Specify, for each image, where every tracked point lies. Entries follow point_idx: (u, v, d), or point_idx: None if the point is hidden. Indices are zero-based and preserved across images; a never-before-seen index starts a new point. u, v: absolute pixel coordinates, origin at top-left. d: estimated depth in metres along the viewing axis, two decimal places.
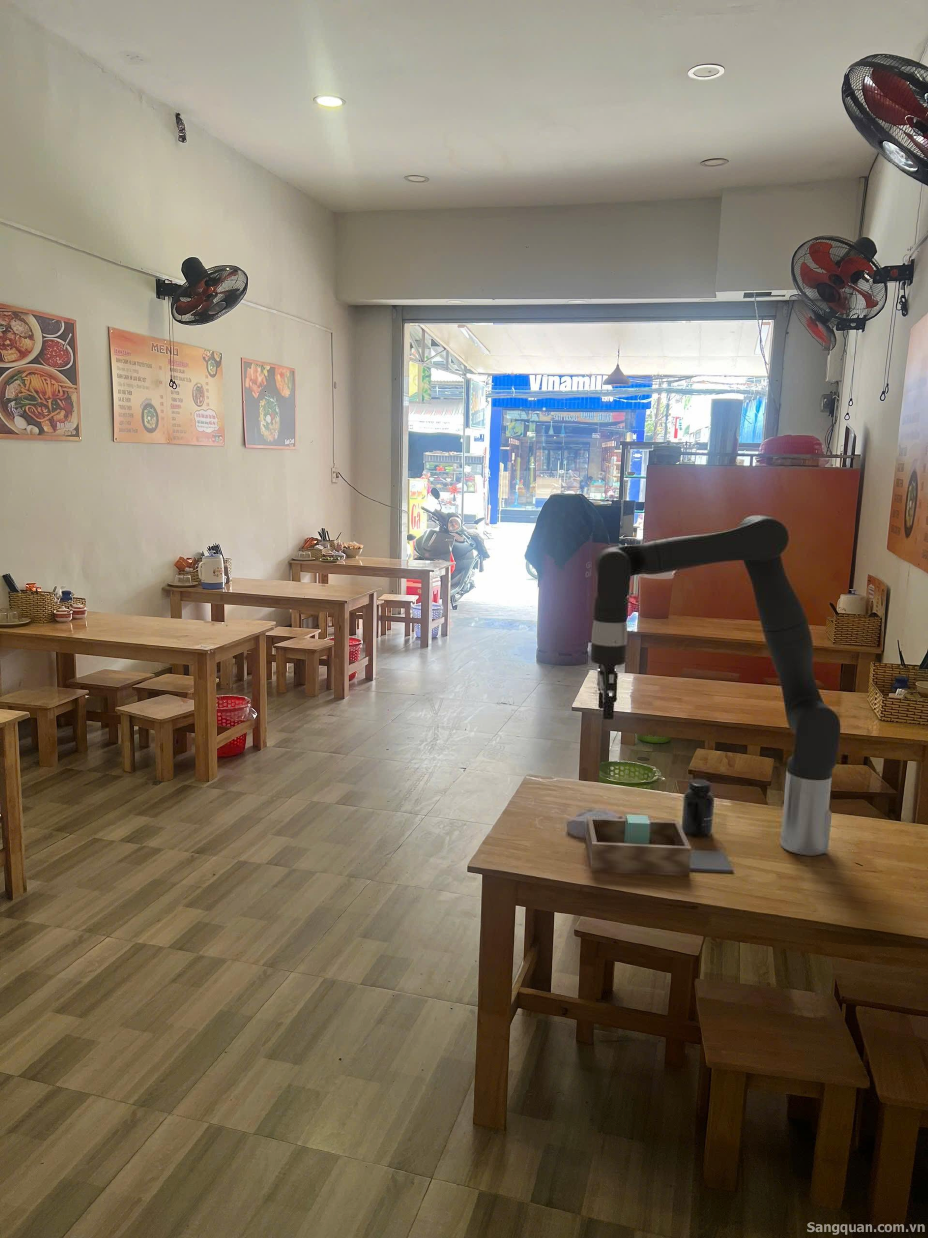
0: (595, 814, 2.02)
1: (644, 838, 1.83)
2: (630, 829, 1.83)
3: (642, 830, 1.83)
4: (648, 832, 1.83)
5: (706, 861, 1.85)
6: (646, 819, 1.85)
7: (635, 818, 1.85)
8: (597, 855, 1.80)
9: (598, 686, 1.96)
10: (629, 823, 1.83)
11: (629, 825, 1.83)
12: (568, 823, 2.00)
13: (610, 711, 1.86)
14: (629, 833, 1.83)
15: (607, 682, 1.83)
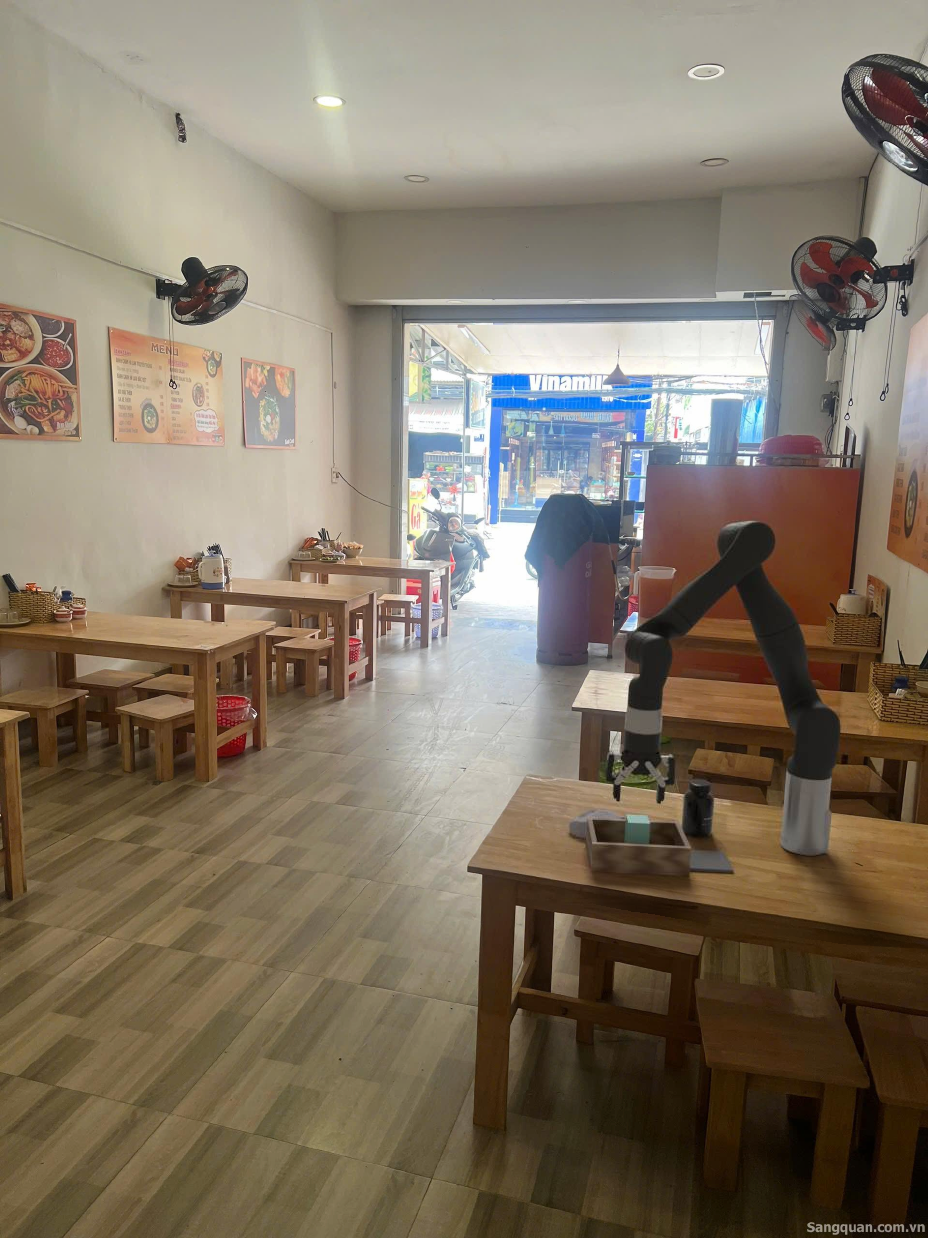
0: (598, 815, 2.02)
1: (644, 838, 1.83)
2: (630, 829, 1.83)
3: (642, 830, 1.83)
4: (648, 832, 1.83)
5: (706, 861, 1.85)
6: (646, 819, 1.85)
7: (635, 818, 1.85)
8: (597, 855, 1.80)
9: (615, 780, 1.83)
10: (629, 823, 1.83)
11: (629, 825, 1.83)
12: (571, 824, 1.99)
13: None
14: (629, 833, 1.83)
15: (674, 765, 1.82)
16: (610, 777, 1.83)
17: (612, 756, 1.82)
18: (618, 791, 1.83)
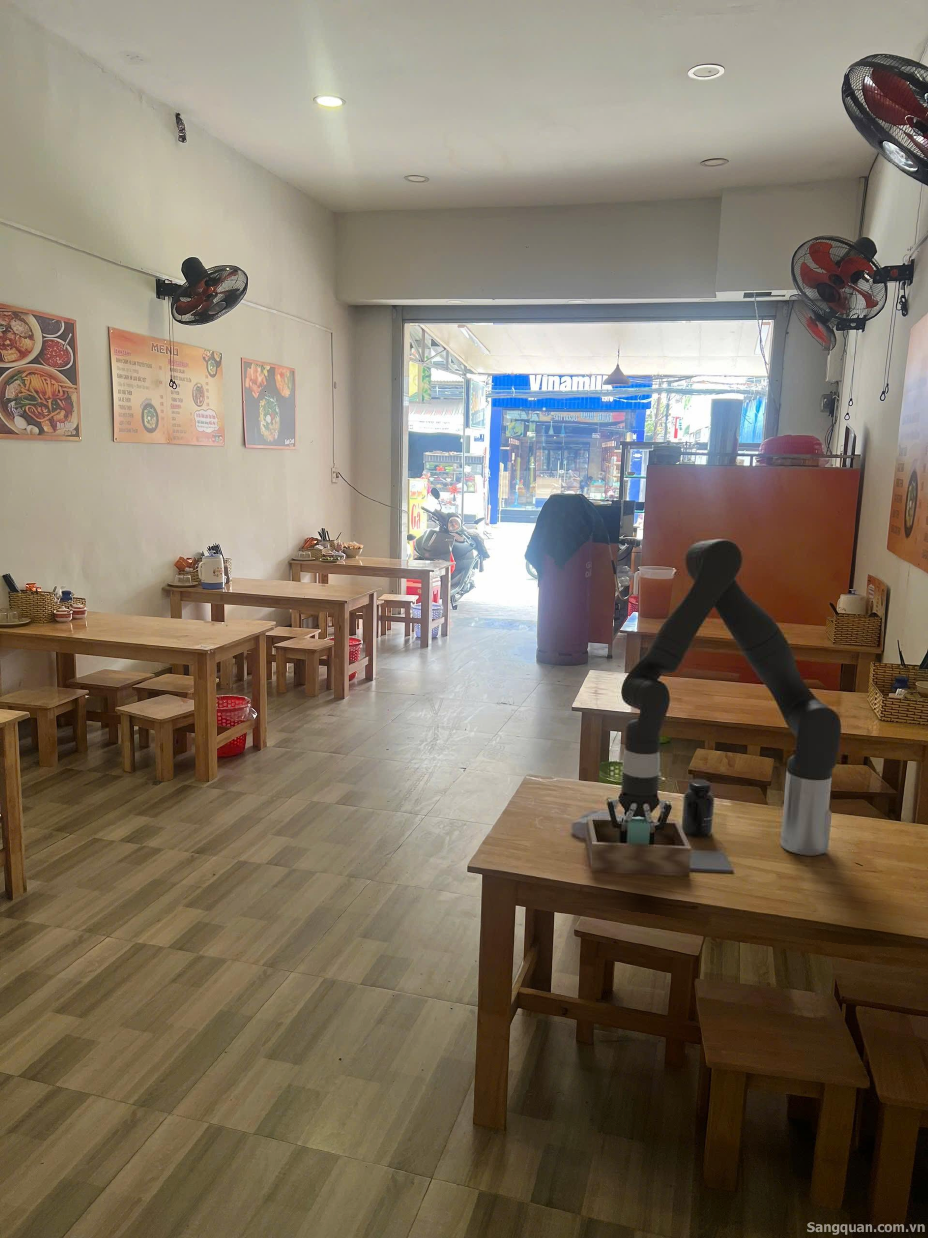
0: (600, 816, 2.01)
1: (644, 838, 1.83)
2: (630, 829, 1.83)
3: (642, 830, 1.83)
4: (648, 832, 1.83)
5: (706, 861, 1.85)
6: None
7: (635, 818, 1.85)
8: (597, 855, 1.80)
9: (621, 827, 1.84)
10: (629, 823, 1.83)
11: (629, 825, 1.83)
12: (573, 825, 1.99)
13: None
14: (629, 833, 1.83)
15: None
16: (617, 824, 1.84)
17: (610, 803, 1.84)
18: (625, 837, 1.85)
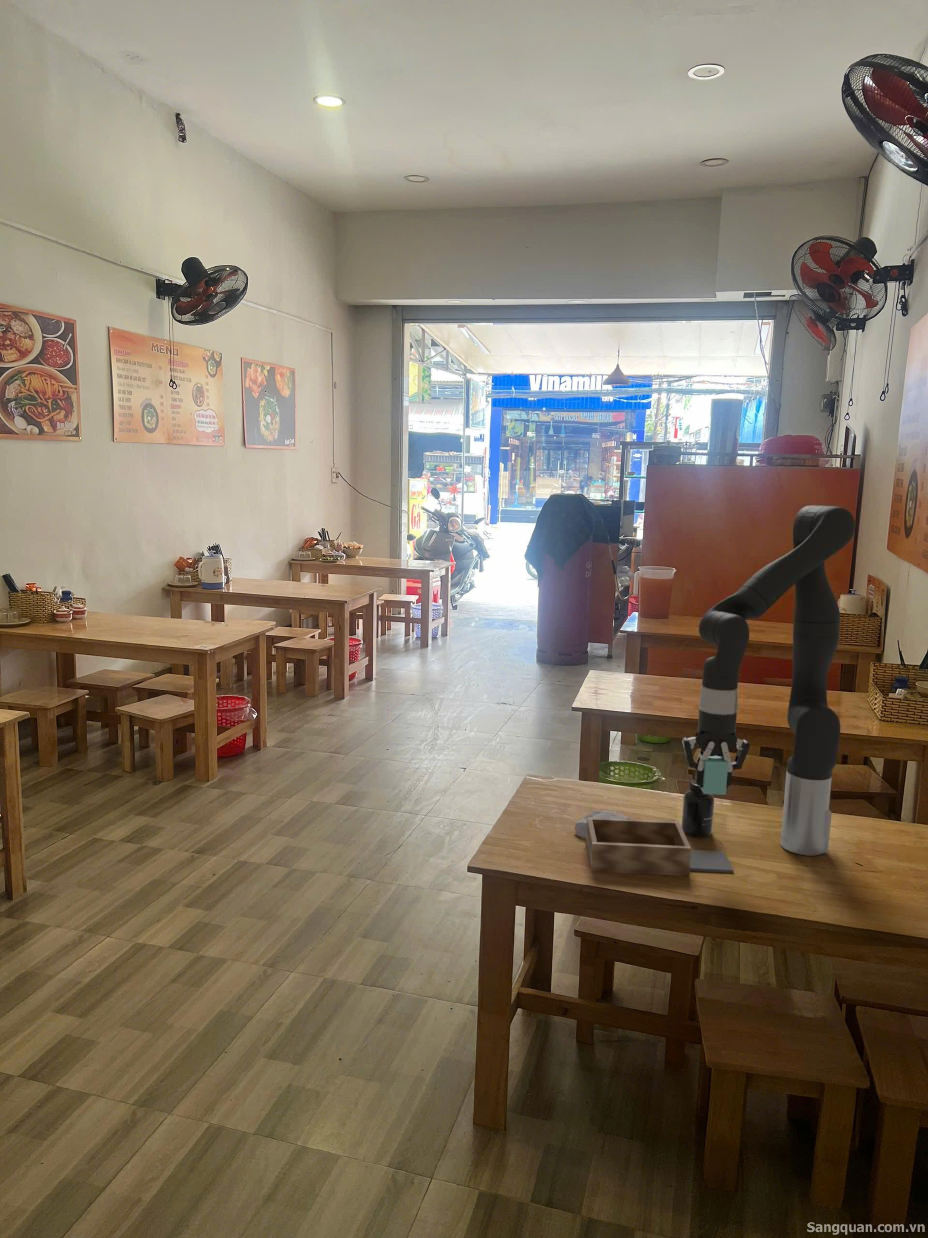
0: (603, 816, 2.01)
1: (721, 777, 1.80)
2: (707, 768, 1.80)
3: (720, 769, 1.80)
4: (726, 771, 1.80)
5: (706, 861, 1.85)
6: None
7: (712, 757, 1.82)
8: (597, 855, 1.80)
9: (698, 767, 1.81)
10: (706, 762, 1.80)
11: (706, 764, 1.80)
12: (576, 825, 1.99)
13: None
14: (706, 772, 1.80)
15: None
16: (693, 763, 1.81)
17: (687, 742, 1.80)
18: (701, 777, 1.82)
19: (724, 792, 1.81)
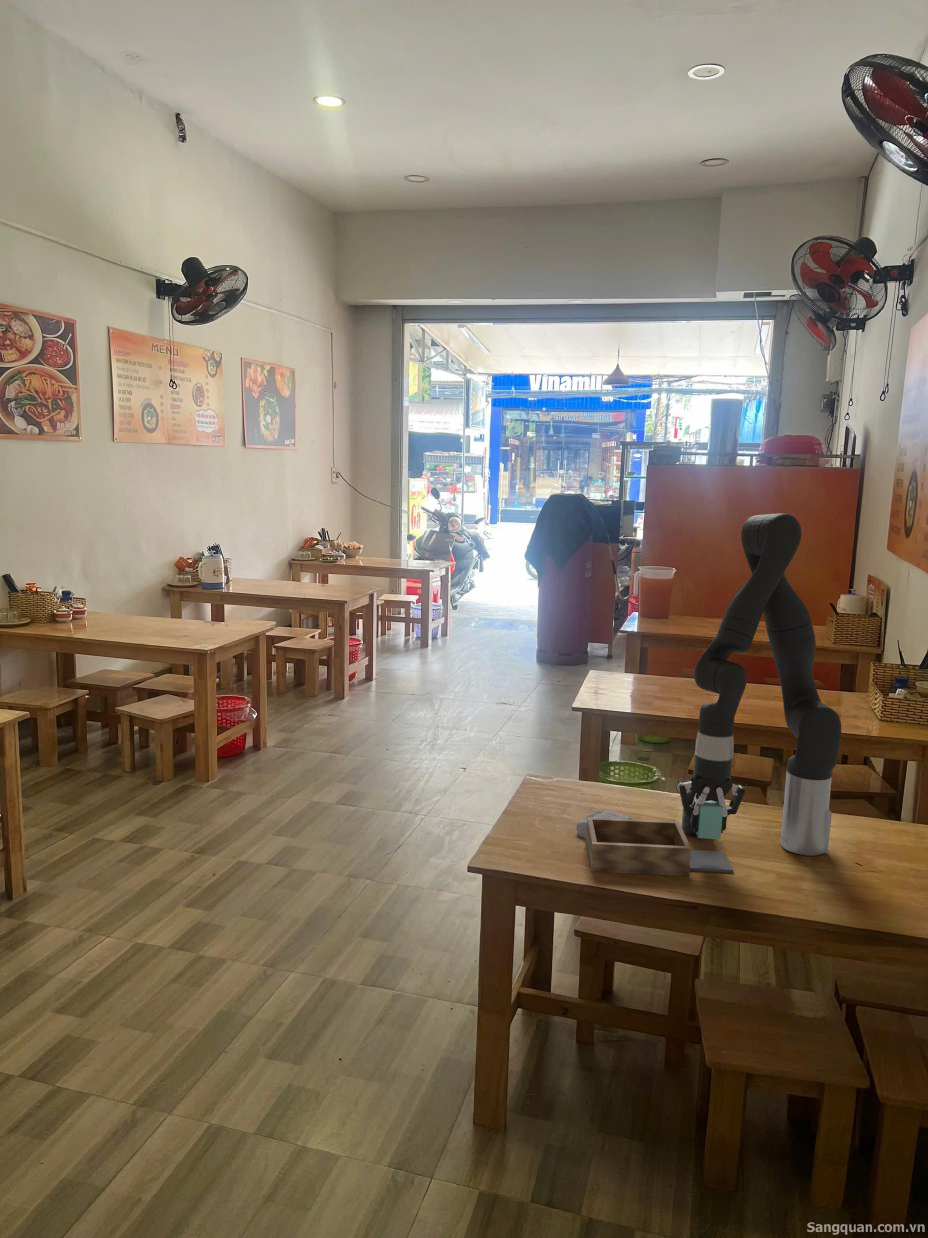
0: (605, 816, 2.01)
1: (716, 822, 1.82)
2: (702, 813, 1.82)
3: (715, 814, 1.82)
4: (721, 816, 1.82)
5: (706, 861, 1.85)
6: None
7: (707, 802, 1.84)
8: (597, 855, 1.80)
9: (693, 811, 1.83)
10: (702, 807, 1.82)
11: (702, 809, 1.82)
12: (578, 825, 1.98)
13: None
14: (701, 817, 1.82)
15: None
16: (689, 807, 1.83)
17: (683, 787, 1.82)
18: (696, 821, 1.83)
19: (719, 837, 1.82)
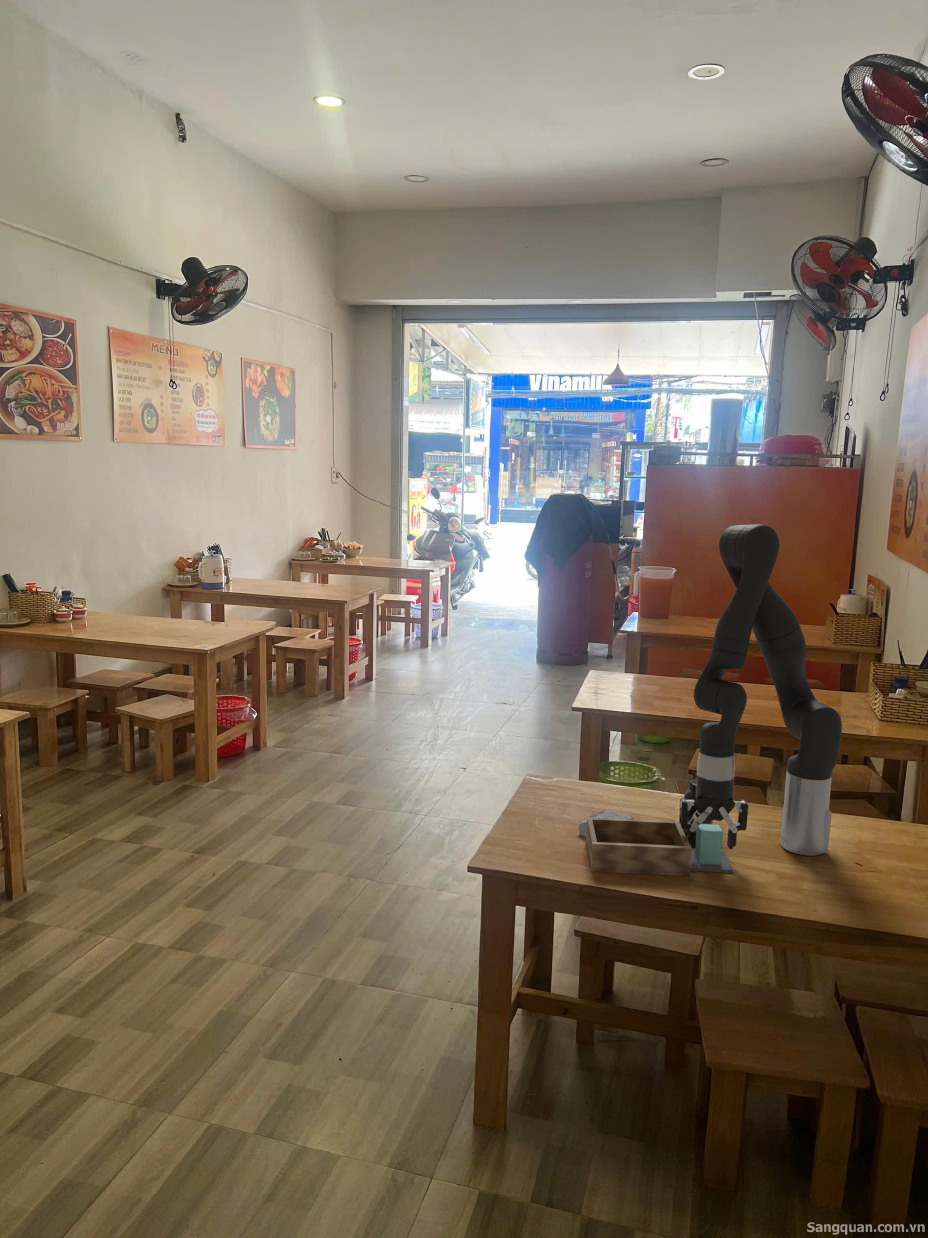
0: (607, 816, 2.01)
1: (717, 847, 1.83)
2: (703, 839, 1.83)
3: (715, 840, 1.82)
4: (721, 842, 1.82)
5: None
6: (718, 829, 1.84)
7: (707, 827, 1.85)
8: (597, 855, 1.80)
9: (690, 827, 1.83)
10: (702, 833, 1.82)
11: (702, 835, 1.82)
12: (580, 825, 1.98)
13: None
14: (702, 843, 1.83)
15: None
16: (685, 824, 1.83)
17: (685, 804, 1.83)
18: (694, 838, 1.84)
19: (719, 862, 1.83)
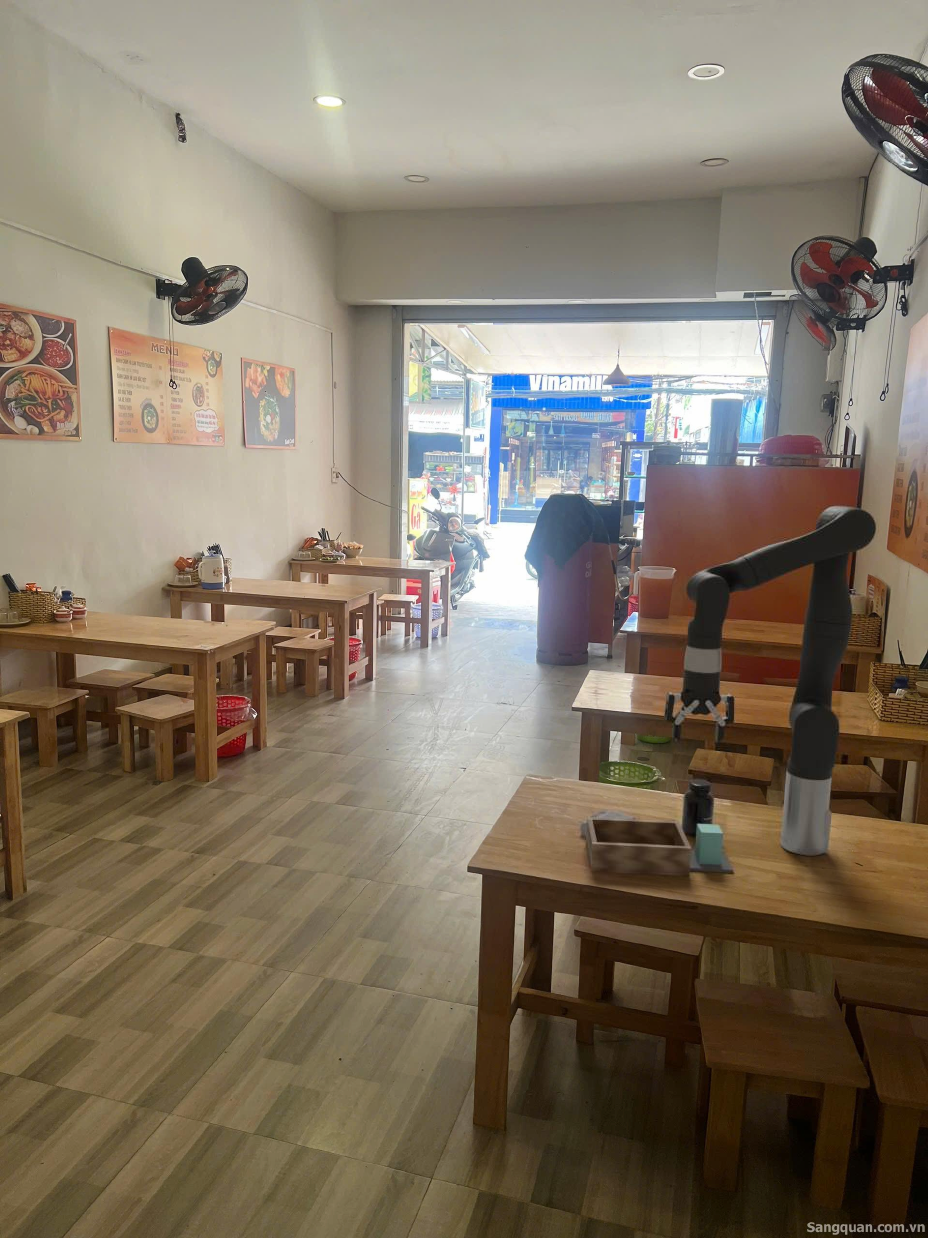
0: (609, 816, 2.01)
1: (717, 847, 1.83)
2: (703, 839, 1.83)
3: (715, 840, 1.82)
4: (721, 842, 1.82)
5: None
6: (718, 829, 1.84)
7: (707, 827, 1.85)
8: (597, 855, 1.80)
9: (675, 720, 1.85)
10: (702, 833, 1.82)
11: (702, 835, 1.82)
12: (582, 826, 1.98)
13: None
14: (702, 843, 1.83)
15: None
16: (670, 717, 1.85)
17: (672, 696, 1.85)
18: (678, 731, 1.86)
19: (719, 862, 1.83)
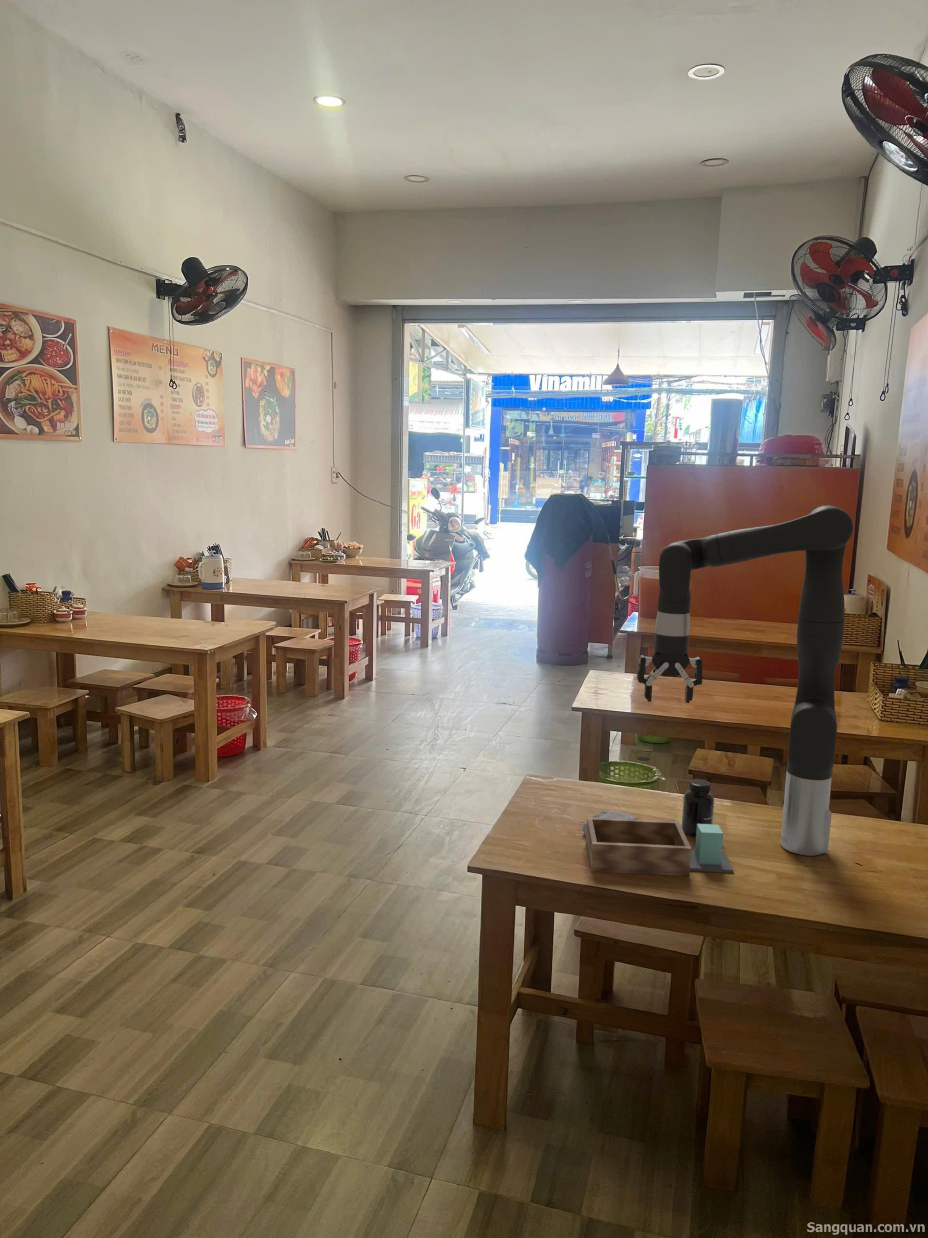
0: (611, 817, 2.01)
1: (717, 847, 1.83)
2: (703, 839, 1.83)
3: (715, 840, 1.82)
4: (721, 842, 1.82)
5: None
6: (718, 829, 1.84)
7: (707, 827, 1.85)
8: (597, 855, 1.80)
9: (647, 681, 1.97)
10: (702, 833, 1.82)
11: (702, 835, 1.82)
12: (584, 826, 1.98)
13: None
14: (702, 843, 1.83)
15: None
16: (642, 678, 1.97)
17: (644, 659, 1.96)
18: (650, 692, 1.98)
19: (719, 862, 1.83)
